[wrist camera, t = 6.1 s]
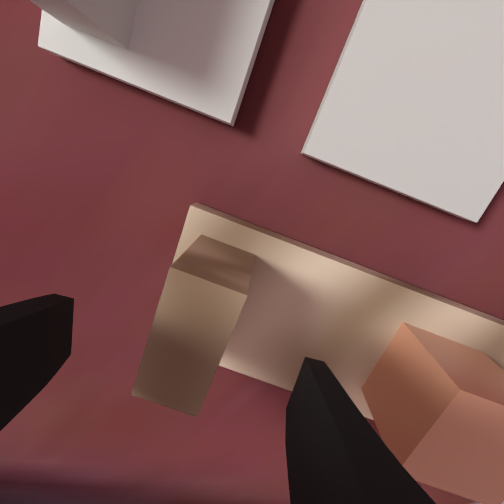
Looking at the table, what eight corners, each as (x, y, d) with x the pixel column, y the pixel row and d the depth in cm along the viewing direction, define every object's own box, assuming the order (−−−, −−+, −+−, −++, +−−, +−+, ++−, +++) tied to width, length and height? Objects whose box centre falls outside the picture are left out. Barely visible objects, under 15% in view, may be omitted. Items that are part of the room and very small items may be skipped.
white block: (571, 38, 10) (835, -71, 5) (460, 218, 12) (582, 252, 8) (89, -179, 9) (-102, -544, 4) (57, 55, 11) (-97, -23, 7)
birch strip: (551, 338, 14) (703, 433, 9) (466, 439, 16) (553, 560, 11) (196, 202, 13) (152, 225, 8) (156, 328, 15) (102, 408, 10)
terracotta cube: (482, 351, 13) (572, 431, 9) (434, 415, 14) (496, 508, 10) (402, 321, 13) (460, 389, 9) (361, 388, 14) (395, 473, 10)
